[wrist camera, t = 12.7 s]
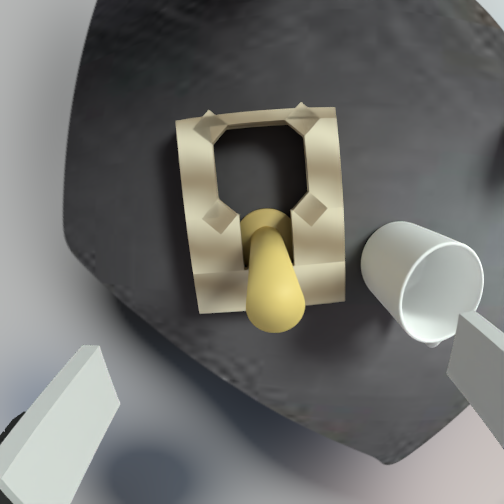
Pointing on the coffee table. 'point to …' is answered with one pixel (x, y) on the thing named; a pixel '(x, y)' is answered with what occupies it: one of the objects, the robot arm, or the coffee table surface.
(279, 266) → the headed peg
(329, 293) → the keyhole board
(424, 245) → the mug
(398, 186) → the coffee table surface
